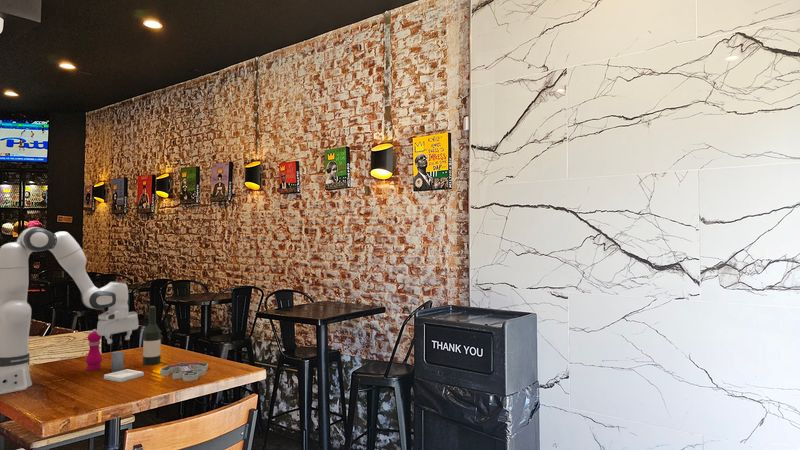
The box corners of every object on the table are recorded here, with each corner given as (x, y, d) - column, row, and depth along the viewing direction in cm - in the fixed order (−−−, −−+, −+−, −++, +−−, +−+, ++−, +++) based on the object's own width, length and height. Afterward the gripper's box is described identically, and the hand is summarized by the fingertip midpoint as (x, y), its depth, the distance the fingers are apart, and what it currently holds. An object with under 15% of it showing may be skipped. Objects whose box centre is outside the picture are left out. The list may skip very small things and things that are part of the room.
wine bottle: (143, 362, 279) (143, 305, 280) (160, 361, 283) (161, 304, 283) (142, 366, 272) (143, 307, 272) (160, 364, 275) (161, 306, 276)
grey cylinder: (115, 372, 259) (116, 354, 259) (109, 371, 261) (109, 353, 261) (125, 370, 263) (125, 352, 263) (118, 368, 266) (119, 351, 266)
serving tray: (120, 382, 241) (120, 377, 241) (103, 379, 246) (103, 374, 246) (143, 376, 252) (143, 372, 252) (127, 373, 257) (127, 369, 257)
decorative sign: (204, 359, 275) (216, 372, 250) (204, 365, 275) (216, 378, 250) (158, 364, 264) (166, 378, 238) (157, 370, 264) (166, 385, 238)
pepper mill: (96, 370, 262) (97, 330, 263) (82, 370, 262) (83, 330, 263) (105, 367, 269) (105, 327, 270) (91, 366, 269) (91, 327, 270)
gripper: (133, 310, 273) (133, 337, 273) (94, 316, 255) (95, 345, 255) (141, 311, 271) (141, 338, 270) (103, 317, 252) (103, 346, 252)
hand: (118, 341), depth 263 cm, fingers open, 8 cm apart
